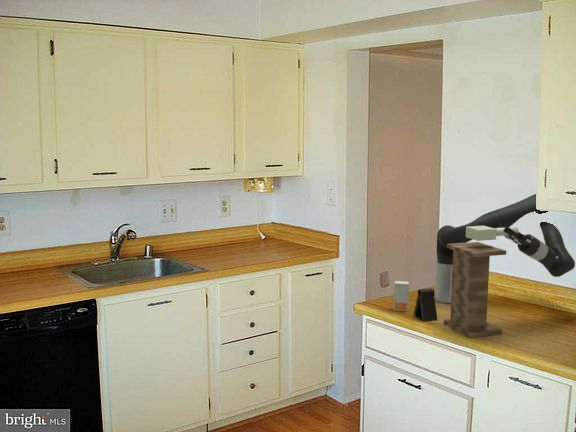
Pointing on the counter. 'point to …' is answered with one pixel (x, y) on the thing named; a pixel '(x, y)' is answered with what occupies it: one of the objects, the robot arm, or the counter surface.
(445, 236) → the robot arm
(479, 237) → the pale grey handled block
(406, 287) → the skincare box
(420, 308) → the phone stand
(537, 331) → the counter surface
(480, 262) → the walnut stand
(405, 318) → the counter surface
